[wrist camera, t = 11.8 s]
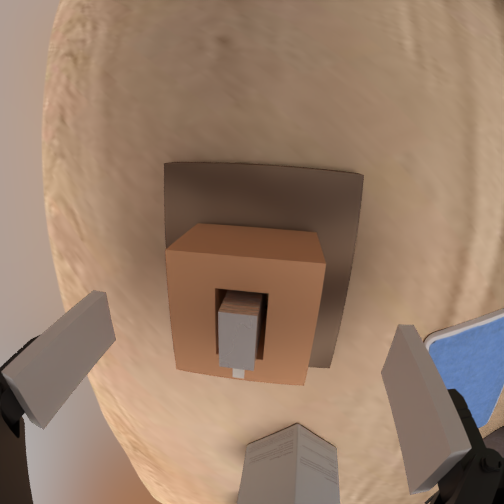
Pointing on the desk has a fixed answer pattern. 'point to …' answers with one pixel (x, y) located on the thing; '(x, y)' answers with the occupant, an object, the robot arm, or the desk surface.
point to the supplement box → (290, 470)
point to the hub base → (275, 217)
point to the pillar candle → (496, 441)
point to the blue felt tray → (472, 361)
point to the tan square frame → (252, 280)
